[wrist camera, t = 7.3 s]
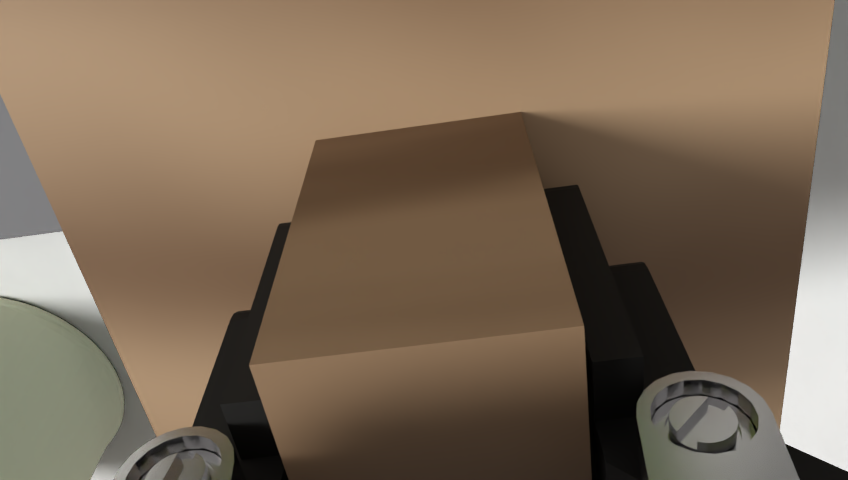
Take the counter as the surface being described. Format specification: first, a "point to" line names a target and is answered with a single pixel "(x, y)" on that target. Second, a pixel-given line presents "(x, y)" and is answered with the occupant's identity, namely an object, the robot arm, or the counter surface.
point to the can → (53, 397)
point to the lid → (420, 202)
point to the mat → (20, 188)
